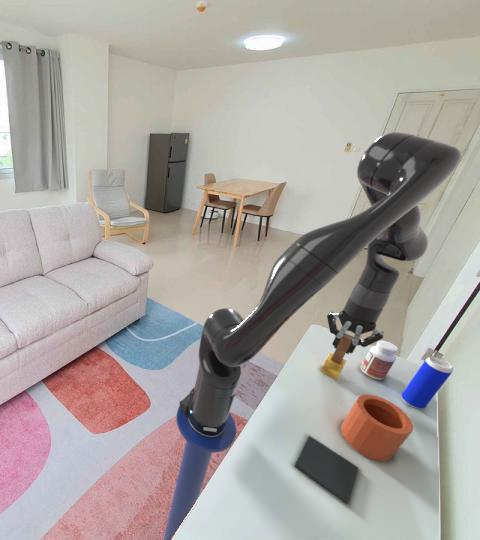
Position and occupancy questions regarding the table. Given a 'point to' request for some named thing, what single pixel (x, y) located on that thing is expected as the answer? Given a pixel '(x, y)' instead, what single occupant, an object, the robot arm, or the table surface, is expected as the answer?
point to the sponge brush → (337, 358)
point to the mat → (327, 468)
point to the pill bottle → (379, 360)
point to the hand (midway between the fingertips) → (341, 349)
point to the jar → (376, 427)
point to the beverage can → (427, 382)
